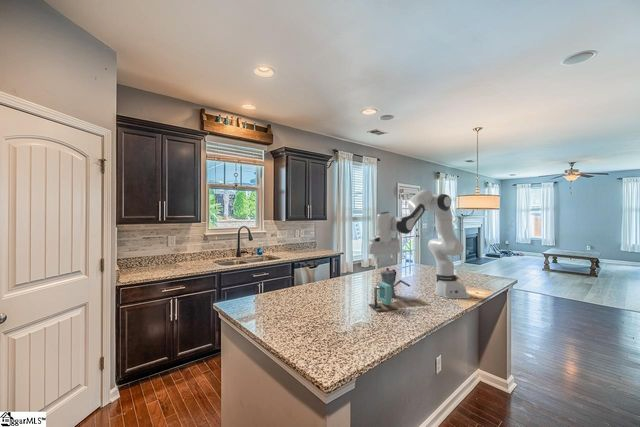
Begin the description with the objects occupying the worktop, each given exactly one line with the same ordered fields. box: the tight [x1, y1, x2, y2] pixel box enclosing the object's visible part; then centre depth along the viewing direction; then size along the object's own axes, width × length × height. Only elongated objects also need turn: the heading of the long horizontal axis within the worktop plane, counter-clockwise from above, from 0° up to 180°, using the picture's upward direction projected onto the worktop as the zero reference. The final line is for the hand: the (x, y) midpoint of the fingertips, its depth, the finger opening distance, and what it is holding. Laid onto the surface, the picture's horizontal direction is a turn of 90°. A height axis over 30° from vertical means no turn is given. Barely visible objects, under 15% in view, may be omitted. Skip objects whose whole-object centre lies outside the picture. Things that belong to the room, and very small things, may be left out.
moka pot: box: [380, 267, 397, 298], centre depth 192 cm, size 10×15×20 cm, turn 132°
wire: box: [369, 279, 411, 309], centre depth 171 cm, size 26×5×15 cm, turn 104°
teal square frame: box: [377, 281, 392, 305], centre depth 170 cm, size 3×11×11 cm, turn 14°
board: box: [368, 298, 431, 313], centre depth 172 cm, size 36×12×1 cm, turn 104°
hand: (384, 260), depth 170 cm, fingers open, 8 cm apart
